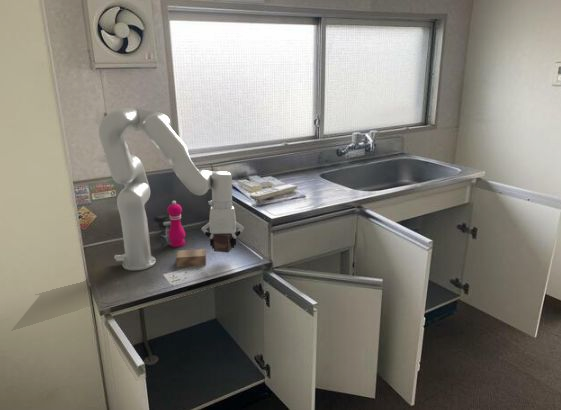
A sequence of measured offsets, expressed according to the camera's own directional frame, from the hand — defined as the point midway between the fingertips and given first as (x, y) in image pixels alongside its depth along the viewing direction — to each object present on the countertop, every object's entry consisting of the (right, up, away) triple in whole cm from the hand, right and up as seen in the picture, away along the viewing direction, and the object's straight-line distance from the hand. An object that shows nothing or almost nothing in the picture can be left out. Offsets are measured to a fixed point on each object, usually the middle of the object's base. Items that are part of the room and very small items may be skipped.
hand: (223, 246), depth 174 cm
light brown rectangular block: (-13, -6, +2) cm, 14 cm away
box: (0, -1, 0) cm, 1 cm away
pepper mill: (-23, -1, +20) cm, 31 cm away
